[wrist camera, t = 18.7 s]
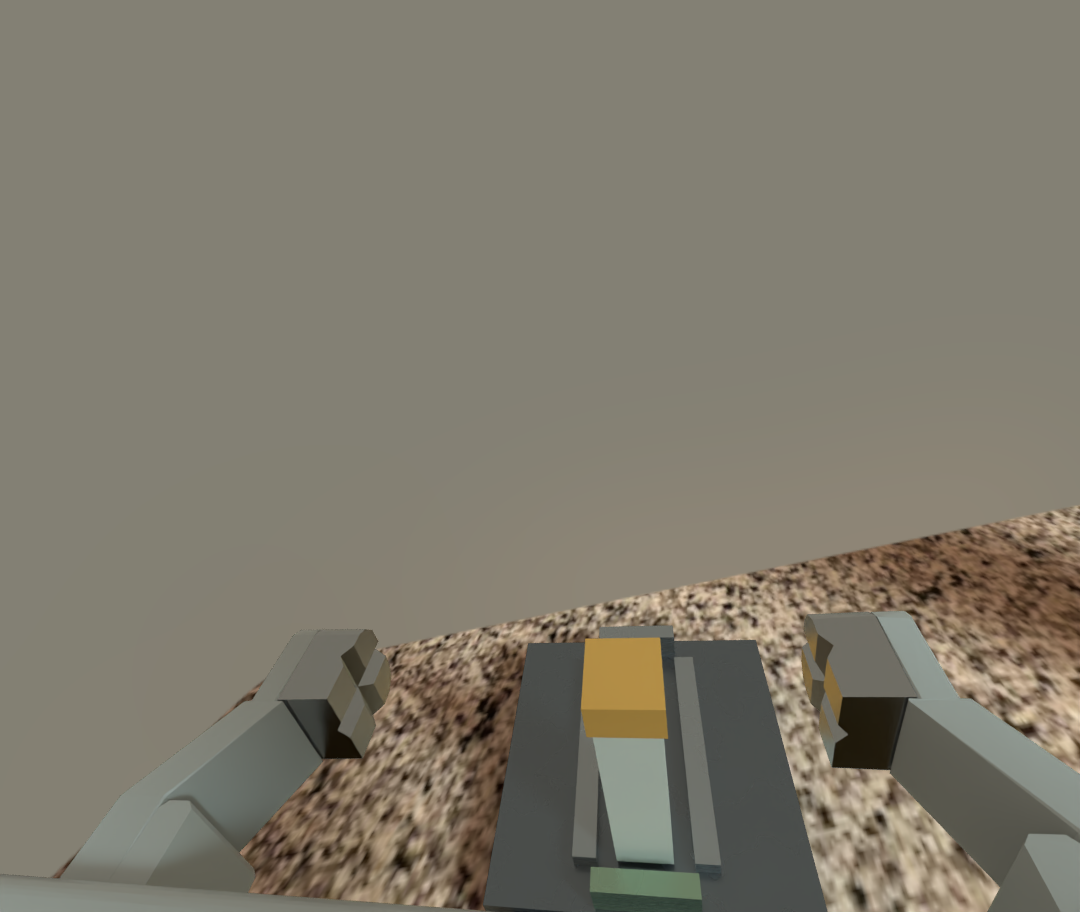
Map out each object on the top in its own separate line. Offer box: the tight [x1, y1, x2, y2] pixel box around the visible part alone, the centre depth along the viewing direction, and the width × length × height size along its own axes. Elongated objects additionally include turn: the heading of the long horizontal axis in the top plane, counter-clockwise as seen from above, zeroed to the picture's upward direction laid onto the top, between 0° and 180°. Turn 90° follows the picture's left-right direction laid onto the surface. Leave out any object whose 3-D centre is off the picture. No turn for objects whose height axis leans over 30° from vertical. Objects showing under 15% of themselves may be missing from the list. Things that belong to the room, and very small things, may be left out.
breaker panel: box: [483, 626, 827, 912], centre depth 33 cm, size 16×16×5 cm
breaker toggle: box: [581, 638, 674, 864], centre depth 25 cm, size 3×3×12 cm
